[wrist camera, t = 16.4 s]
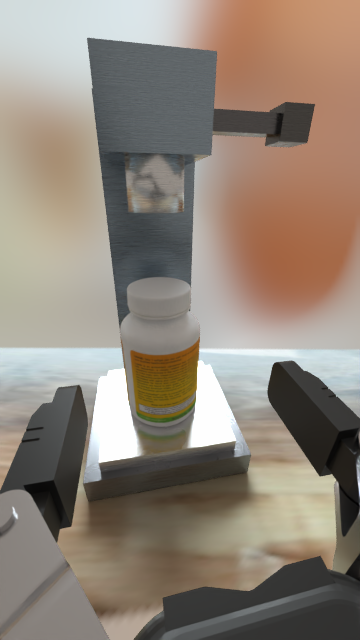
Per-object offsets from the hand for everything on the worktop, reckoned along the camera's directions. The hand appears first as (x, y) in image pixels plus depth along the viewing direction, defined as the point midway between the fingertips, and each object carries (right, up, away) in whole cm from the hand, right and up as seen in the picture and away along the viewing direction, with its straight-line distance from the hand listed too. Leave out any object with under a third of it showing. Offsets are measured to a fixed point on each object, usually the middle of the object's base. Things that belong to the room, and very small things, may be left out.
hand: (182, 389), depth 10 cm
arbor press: (0, -6, +12) cm, 13 cm away
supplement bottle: (-1, -4, +10) cm, 11 cm away
